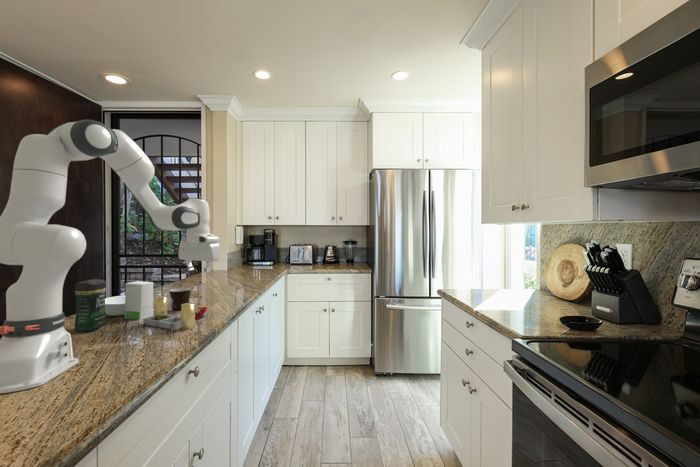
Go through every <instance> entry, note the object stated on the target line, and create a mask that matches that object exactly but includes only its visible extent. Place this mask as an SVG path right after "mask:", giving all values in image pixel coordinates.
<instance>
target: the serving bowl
mask: <svg viewBox="0 0 700 467" xmlns="http://www.w3.org/2000/svg"><path fill="white" fill-rule="evenodd" d="M105 311H106V316H111V317H112V316H113V317H117V316H125V294H124V295H117V296H115V295H114V296H110V297H105Z"/></svg>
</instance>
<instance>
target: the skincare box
mask: <svg viewBox="0 0 700 467" xmlns="http://www.w3.org/2000/svg"><path fill="white" fill-rule="evenodd" d="M124 290H125V291H124V292H125V294H124V295H125V315H124V319H128V320H145V319H147V318H151V317H154V282H151V281H141V280H138V281H137V280H136V281H132V282H126V283H125V289H124Z"/></svg>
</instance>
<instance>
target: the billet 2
mask: <svg viewBox="0 0 700 467" xmlns="http://www.w3.org/2000/svg"><path fill="white" fill-rule="evenodd" d="M195 307H196V303H195V302H189V303H184V304H181V313H180V315H181V330H183V331H186V330H187V331H188V330H193V329H195V328H196V319H195V312H196V308H195Z"/></svg>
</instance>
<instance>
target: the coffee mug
mask: <svg viewBox="0 0 700 467" xmlns="http://www.w3.org/2000/svg"><path fill="white" fill-rule="evenodd" d="M191 290H192V289H191V288H190V287H181V288H180V287H179V288H178V287H177V288H172V289H170V290H169V297H170V298H169V299H170V304H171V311H172V312H174V311H175V312H177V311H178V312H180V311H181V304H184V303H190V300H191Z"/></svg>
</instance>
